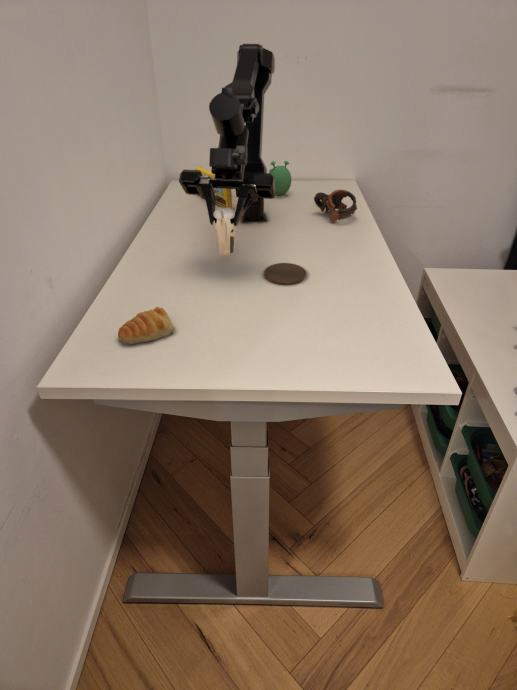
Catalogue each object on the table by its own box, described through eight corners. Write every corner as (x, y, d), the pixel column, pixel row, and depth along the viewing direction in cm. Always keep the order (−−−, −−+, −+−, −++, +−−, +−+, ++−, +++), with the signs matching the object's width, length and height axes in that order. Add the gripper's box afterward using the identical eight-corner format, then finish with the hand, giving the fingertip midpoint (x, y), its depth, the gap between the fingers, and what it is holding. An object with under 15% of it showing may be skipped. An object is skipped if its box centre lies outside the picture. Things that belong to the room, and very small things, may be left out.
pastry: (129, 352, 79) (125, 334, 77) (112, 335, 83) (108, 317, 81) (177, 332, 84) (174, 314, 82) (158, 316, 88) (156, 299, 86)
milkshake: (213, 257, 95) (209, 210, 89) (217, 246, 100) (215, 200, 94) (235, 258, 95) (233, 210, 89) (238, 247, 99) (237, 200, 93)
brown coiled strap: (355, 212, 132) (363, 192, 124) (345, 237, 128) (353, 218, 120) (315, 197, 133) (321, 177, 125) (304, 222, 129) (309, 202, 121)
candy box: (196, 195, 142) (194, 167, 138) (202, 193, 144) (200, 166, 139) (226, 210, 132) (225, 181, 127) (233, 208, 133) (232, 179, 128)
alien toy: (285, 189, 147) (287, 156, 141) (293, 197, 141) (295, 163, 135) (264, 191, 145) (264, 157, 139) (271, 199, 139) (272, 164, 133)
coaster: (261, 266, 104) (261, 264, 104) (301, 264, 105) (301, 261, 105) (267, 286, 97) (267, 283, 97) (309, 283, 98) (310, 280, 98)
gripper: (176, 125, 88) (165, 204, 86) (274, 129, 85) (265, 210, 83) (191, 157, 99) (181, 228, 97) (279, 161, 96) (271, 233, 94)
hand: (223, 224), depth 92 cm, fingers closed on milkshake, 4 cm apart
